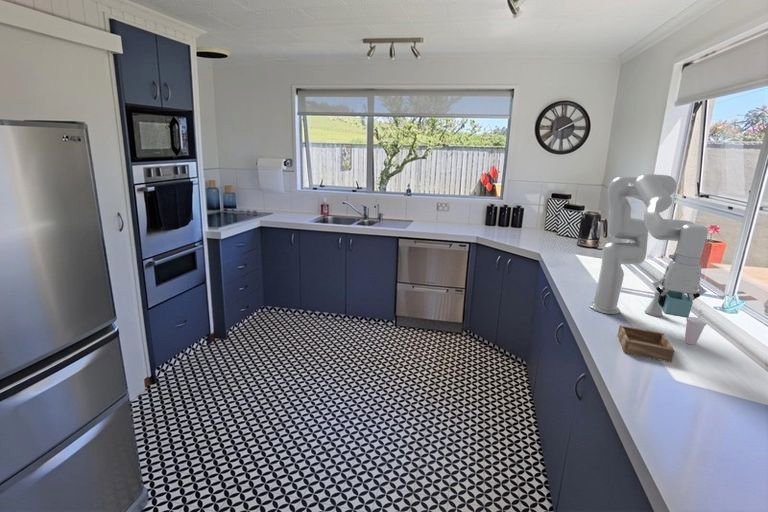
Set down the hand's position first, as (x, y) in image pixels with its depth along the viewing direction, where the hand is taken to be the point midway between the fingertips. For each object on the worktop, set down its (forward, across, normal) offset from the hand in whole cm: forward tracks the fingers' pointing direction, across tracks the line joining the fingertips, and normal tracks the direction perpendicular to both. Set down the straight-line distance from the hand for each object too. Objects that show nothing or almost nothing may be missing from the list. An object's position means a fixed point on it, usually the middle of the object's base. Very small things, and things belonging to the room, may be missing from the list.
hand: (673, 307), depth 149 cm
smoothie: (+18, +13, +13) cm, 26 cm away
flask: (+18, +7, +42) cm, 46 cm away
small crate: (+1, 0, 0) cm, 1 cm away
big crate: (+17, -6, -1) cm, 19 cm away
